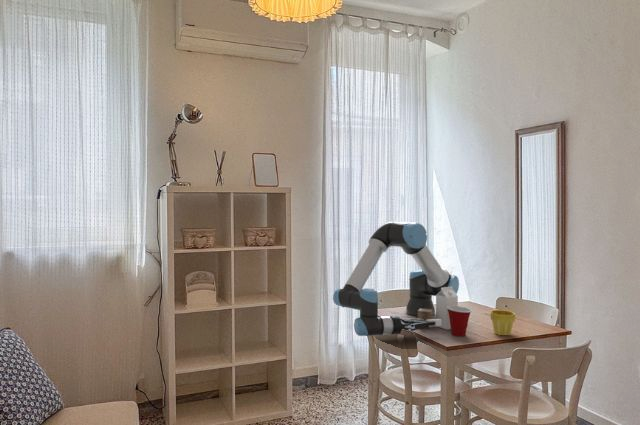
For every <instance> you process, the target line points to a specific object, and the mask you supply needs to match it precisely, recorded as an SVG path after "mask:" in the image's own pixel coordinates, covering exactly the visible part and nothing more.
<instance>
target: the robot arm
mask: <svg viewBox="0 0 640 425" xmlns="http://www.w3.org/2000/svg"><path fill="white" fill-rule="evenodd" d="M427 241H428V234H427V230H426V227H424V225H423V224H421V223H420V222H414V221H389V222H386V223H384V224H383V225H381V226H379V227H378V228H377V229H376V230H375V232H374V233H373V234H372V235H371V237H370V238H369V240H368V246H367V248H366V249H365V250H364V253H363V254H362V256H361V258H360V260H359V261H358V262H357V264H356V266H355V268H354V269H353V270H352V273H351V274H350V275H349V277H348V280H347V281H345V284H344V286H343V287H342V288H337V289H336V290H335V291H334V293H333V295H332V300H333V303H334V304H335V305H336V306H340V307H341V308H348V309H351V310H352V309H353V310H358V311H359V317H356V318H355V319H354V324H353V327H354V328H353V329H354V332H355V334H356V335H357V336H359V337H360V336H361V337H370V336H383V337H385V336H386V335H399V334H401V332H402V331H408V330H410V331H411V332H414V331H418V330H424V329H425V328H427V330H429V329H428V328H429V327H430V326H432V327H437V326H441V319H436V318H434V319H429V320H426V318H424V319H423V320H422V319H418V318H402V317H400V316H399V315H391V316H389V315H388V316H378V315H379V314H378V312H379V296H378V290H376V289H375V288H364V286H365V285H366V283H367V281H368V280H369V278H370V276H371V274H372V273H373V270H374V269H375V268H376V265H377V264H378V262H379V261H380V259H381V257H382V255H383V254H384V253H386V252H387V251H388V250H389V248H391V247H398V248H401V249H402V250H403V252H404V253H405V254H406V255H410V256H411V258H413V260H414V261H415V263H416V264H417V265H418V266H419V270H412V271H410V273H409V279H408V280H409V299H408V301H407V305H406V308H405V312H406V314H408V315H410V316H417V317H418V310H419V309H420V308H421V309H433V316H434V315H435V316H436V307H435V306H434V305H435V304H434V302H433V297H436V295H437V294H438V293H439V292H440V291H441V288H444V287H453V288H452V289H453V290H454V292H455V293H456V294H458V291H459V288H460V280H459V277H458V276H457V275H454V274H450V273H449V271H448V270H447V269H446V268H443V267H442V266H441V264H439V262H438V260H437V259H436V257H435V256H434V254H433V253H432V252H431V250H430V248H429V247H428V246H427Z"/></svg>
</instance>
